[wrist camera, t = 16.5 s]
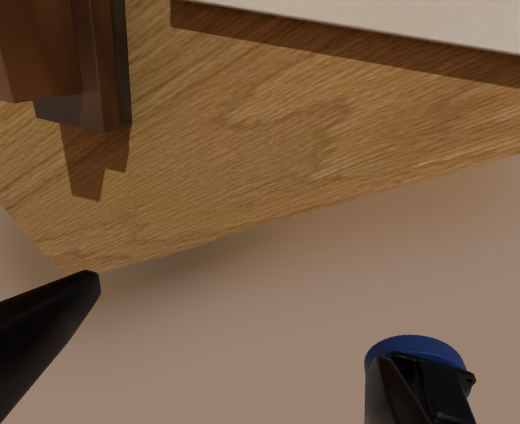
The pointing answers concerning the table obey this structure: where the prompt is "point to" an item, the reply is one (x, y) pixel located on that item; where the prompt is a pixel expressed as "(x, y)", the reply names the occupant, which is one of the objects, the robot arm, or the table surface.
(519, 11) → the tile
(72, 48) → the brown stepped block
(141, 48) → the table surface
